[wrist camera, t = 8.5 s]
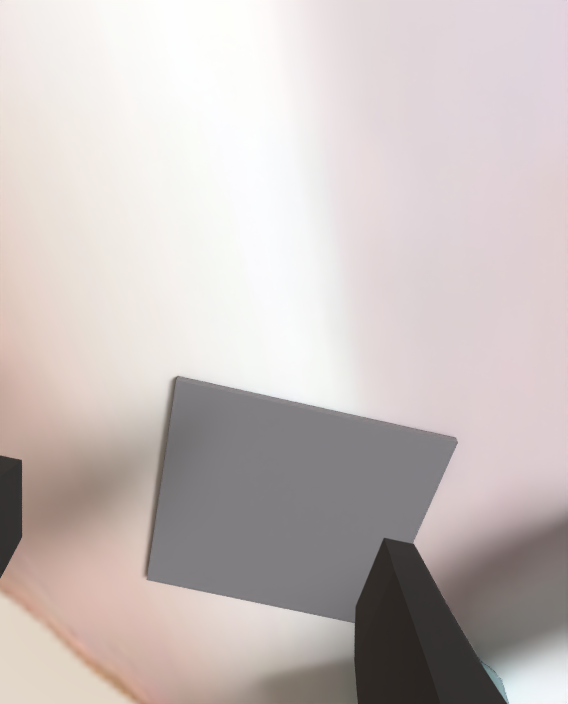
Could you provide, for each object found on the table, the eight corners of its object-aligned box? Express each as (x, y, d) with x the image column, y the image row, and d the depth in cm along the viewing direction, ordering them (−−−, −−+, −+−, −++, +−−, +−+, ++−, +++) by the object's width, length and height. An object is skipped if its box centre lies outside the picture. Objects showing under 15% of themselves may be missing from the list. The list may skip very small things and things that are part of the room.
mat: (456, 437, 21) (457, 442, 21) (374, 621, 26) (375, 627, 26) (177, 376, 21) (176, 379, 20) (148, 574, 25) (146, 579, 25)
